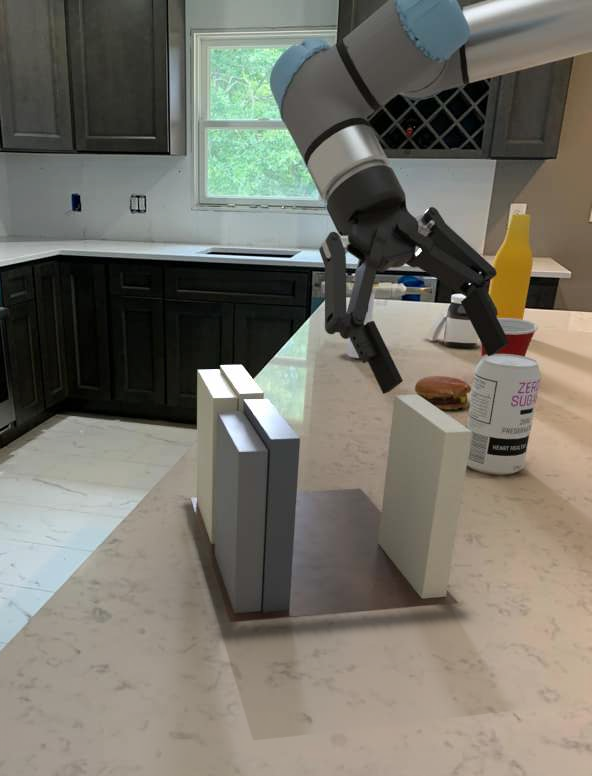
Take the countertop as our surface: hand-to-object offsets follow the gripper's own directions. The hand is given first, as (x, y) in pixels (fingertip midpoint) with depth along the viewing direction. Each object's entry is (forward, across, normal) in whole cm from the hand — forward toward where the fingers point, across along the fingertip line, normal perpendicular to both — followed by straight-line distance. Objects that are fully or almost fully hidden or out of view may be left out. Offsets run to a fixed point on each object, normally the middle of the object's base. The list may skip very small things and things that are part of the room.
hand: (447, 368), depth 72 cm
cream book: (+16, +10, -5) cm, 20 cm away
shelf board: (+11, +17, -12) cm, 24 cm away
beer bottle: (-21, -90, -86) cm, 126 cm away
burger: (-4, -34, -47) cm, 58 cm away
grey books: (+11, +25, -7) cm, 29 cm away
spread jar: (-21, -70, -80) cm, 109 cm away
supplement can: (+10, -20, -25) cm, 34 cm away
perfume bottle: (-24, -41, -74) cm, 88 cm away
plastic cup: (-4, -53, -54) cm, 76 cm away
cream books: (+4, +22, -18) cm, 28 cm away
